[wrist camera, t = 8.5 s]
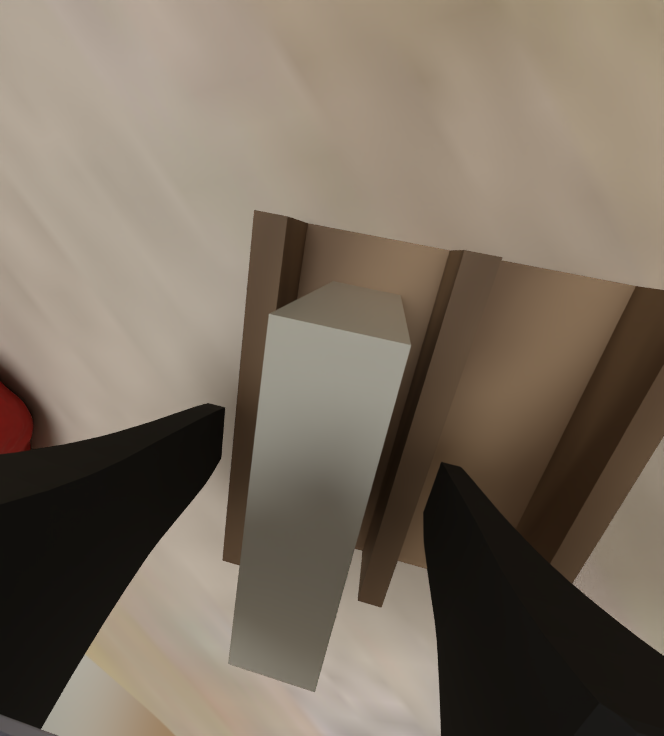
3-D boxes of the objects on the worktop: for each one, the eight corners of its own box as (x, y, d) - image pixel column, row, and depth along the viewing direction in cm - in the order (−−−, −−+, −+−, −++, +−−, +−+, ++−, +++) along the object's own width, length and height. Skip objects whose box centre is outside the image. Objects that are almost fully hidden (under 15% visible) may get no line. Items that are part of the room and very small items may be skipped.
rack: (646, 289, 12) (746, 303, 8) (502, 573, 17) (530, 651, 13) (288, 220, 13) (254, 210, 10) (253, 503, 18) (222, 560, 15)
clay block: (400, 295, 12) (410, 344, 6) (346, 508, 16) (315, 692, 9) (333, 281, 12) (268, 314, 6) (295, 494, 16) (228, 663, 9)
